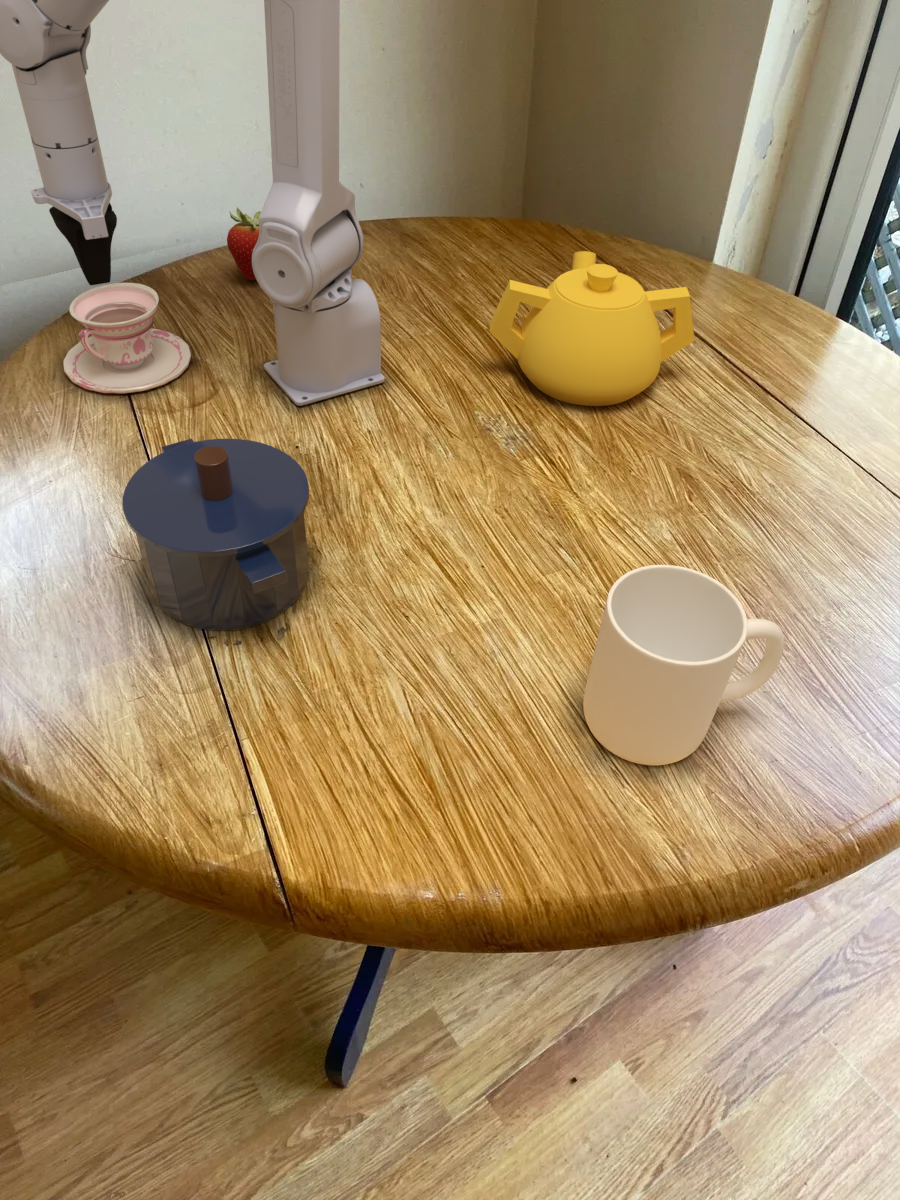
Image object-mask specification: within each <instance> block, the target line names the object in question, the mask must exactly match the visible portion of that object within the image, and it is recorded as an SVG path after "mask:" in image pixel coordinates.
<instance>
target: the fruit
mask: <svg viewBox="0 0 900 1200" xmlns="http://www.w3.org/2000/svg"><path fill="white" fill-rule="evenodd" d="M228 212H229V215H230V218H231V219H232V220H233V221H234V222H237V223H235V224H234V225H233V226H231V228H229V230H228V232H227V236H226V244H227V248H228V250H229V252H230V254H231V255H232V257H233V260H234V262H235V264H236V267H237V268H238V270H239V271H240V273H241V274H242V276H243V277H245V278H246V279H247V280H249V281H257V280H256V278H255V275H254V272H253V268H252V253H253V249H254V247H255V245H256V243H257V241H258V238H259V216H260V213H261V210H259V211H257V212H256V213H255V214H254V215H253V219H252V217H250V216H249V215H248V214H247V213H246V212H245V213H243V212H242V211H241V210H240V208H239V207H236V216H235V215H234V214H232V212H231V210H229V211H228Z"/></svg>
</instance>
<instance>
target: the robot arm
mask: <svg viewBox="0 0 900 1200" xmlns="http://www.w3.org/2000/svg"><path fill="white" fill-rule="evenodd" d="M109 1H110V0H0V55H1V56H2V57H3V59H5V60H6V61H7V62H9V63H10V64H11V67H12V71H13V75H14V78H15V79H14V80H15V82H16V87H17V90H18V94H19V98H20V101H21V105H22V109H23V113H24V116H25V117H24V118H25V121H26V124H27V128H28V132H29V137H30V139H31V144H32V147H33V151H34V155H35V159H36V163H37V166H38V171H39V175H40V177H41V181H42V182H41V183H42V186H43V187H40V188H34V189H32V190H31V196H32V199H33V201H34V203H35V204H37V205H45V204H47V205H50V206H51V207H50V208H49V210H48V212H49V213H50V217H51V218H52V220H53V223H54V225H55V226H56V228H57V230H58V231H59V232H60V234H62V235H63V237H64V238H65V239H66V241H67V242H68V244H69V246H70V247H71V249H72V250H73V253H74V255H75V258H76V260H77V262H78V265H79V267H80V269H81V271H82V274H83V276H84V278H85V279H86V282H87V283H88V285H89V286H96V285H104V284H110V282H111V278H112V242H113V237H114V233H115V230H116V227H117V224H118V217H117V214H116V213H115V211H114V210H113V205H112V204H111V199H112V197H113V190H112V186H111V184H110V183H109V181H108V178H107V173H106V168H105V163H104V158H103V154H102V149H101V145H100V140H99V136H98V135H99V134H98V131H97V126H96V120H95V117H94V112H93V108H92V107H93V106H92V101H91V98H90V93H89V92H90V91H89V88H88V84H87V79H86V76H87V70H89V65H88V61H87V60H88V59H87V50H88V46H89V44H90V42H91V36H92V35H91V33H92V28H91V25H92V22H93V21H94V20H95V18H97V16H98V15H99V14H100V13H101V11H102V10H103V9H104V8H105V6H106V5H107V4H108V3H109ZM340 1H341V0H263V4H264V5H263V6H264V8H263V9H264V27H265V47H266V48H265V49H266V50H265V51H266V66H267V67H266V69H267V86H268V87H267V88H268V90H267V91H268V108H269V109H268V110H269V129H270V149H271V150H270V151H271V152H270V153H271V168H272V173H271V174H272V185H271V187H270V189H269V192H268V193H267V197H266V199H265V201H264V203H263V205H262V209H261V210H260V212H261V213H260V216H259V220H258V221H259V238H258V241H257V243H256V245H255V247H254V249H253V253H252V268H253V272H254V275H255V278H256V280H255V281H256V282H257V284H258V286H259V287H260V289H261V290H262V291H263V292H264V293H265V294H266V296H267V297H268V298H269V299H268V300H269V302H270V303H272V310H273V321H274V332H275V341H276V353H277V359H275V360H271V361H268V362H265V363H264V364H263V370H264V371H265V372H266V373H267V374H268V375H269V376H270V377H271V378H272V380H273V381H274V382H275V383H276V384H277V385H278V386H279V387H280V389H281V390H282V391H283V392H284V394H286V396H288V398H289V399H290V400H291V401H292V402H293V404H294V405H296V406H298V407H303V406H306V405H309V404H313V403H316V402H320V401H323V400H327V399H331V398H334V397H338V396H341V395H344V394H348V393H351V392H355V391H358V390H361V389H362V390H363V389H365V388H370V387H372V386H376V385H380V384H383V383H384V382H385V381H386V376H384V375H383V373H382V323H381V322H382V319H381V312H380V308H379V304H378V300H377V297H376V295H375V293H374V291H373V289H372V288H371V285H369V283H367V281H365V280H364V279H362V278H353V268H352V267H354V266H355V265H357V263H358V262H359V260H360V259H361V258H362V255H363V252H364V248H365V247H364V244H365V241H364V233H363V230H362V226H361V225H360V222H359V220H358V216H357V213H356V205H355V204H356V195H355V193H354V192H353V191H352V190H351V189H350V188H349V187H347V186H346V185H345V184H344V183H342V182H341V181H340V30H341V29H340V28H341V27H340V26H341V25H340V19H341V18H340V15H341V14H340V9H341V8H340Z"/></svg>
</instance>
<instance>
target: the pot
mask: <svg viewBox="0 0 900 1200" xmlns="http://www.w3.org/2000/svg"><path fill="white" fill-rule="evenodd" d="M192 442H195V441H194V439H193V438H188V439H184V440H180V441H178V442H174V443H170V444H167V445H164V446H163V445H162V446H161V452H162V453H163V452H165V451H168V450H170V449H172V448H175V447H178V446H181V445H184V444H188V443H192ZM306 533H307V531H306V521H305V512H304V513H303V515H302V516H301V518H300V519H299V520H298V521H297V523H296V524H295V525H294V526H293V527H292V528H291V529H289V530H288V531H287V532H286V533H285V534H283V535H282V536H280V537H278V538H277V539H275V540H273V541H271V542H269V543H268V544H266V545H263V546H261V547H258V548H256V549H253V550H249V551H246V552H243V553H238V554H233V555H227V556H218V557H193V556H185V555H179V554H174V553H170V552H167V551H164V550H161V549H159V548H156V547H154V546H152V545H150V544H148V543H147V542H145V541H144V540H143V539H141V538H140V537H139V536H138V535H137V534H136V533H135V536H136V540H137V544H138V549H139V552H140V555H141V559H142V563H143V567H144V571H145V574H146V579H147V582H148V586H149V588H150V590H151V593H152V595H153V598H154V601H155V602H156V603H157V605H158V606H159V608H160V609H161V610H162V611H163V612H164V613H165V614H166V615H168V616H169V617H170V618H172V619H174V620H175V621H177V622H179V623H181V624H183V625H186V626H188V627H192V628H196V629H200V630H206V631H219V632H220V631H222V632H223V631H236V630H243V629H247V628H253V627H255V626H259V625H262V624H264V623H266V622H268V621H271V620H272V619H273V620H274V618H276V617H278V616H280V615H281V614H283V613H284V612H286V611H287V610H289V609H290V607H292V606H293V605H294V604H295V603H296V602H297V600H298V599H299V598H300V597H301V595H302V594H303V592H304V590H305V588H306V585H308V584H307V583H308V580H309V576H310V567H309V557H308V545H307V534H306Z"/></svg>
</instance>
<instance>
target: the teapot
mask: <svg viewBox="0 0 900 1200" xmlns="http://www.w3.org/2000/svg"><path fill="white" fill-rule="evenodd" d="M520 303H523V304H525V305H529V306H531V308H530V309H529V311H528V312H527V315H526V316H525V319H524V321H523V322H522V325H521V327H520V326H519V325H518V324H516V322H514V320H515V317H516V314H517V311H518V309H519V306H520ZM671 309H672V325H671V326H669V327H667V328H665V329H664V330H662V331H661V330H660V327H659V322H658V320H657V316H656V312H659V311H660V312H661V311H665V310H671ZM693 322H694V321H693V311H692V304H691V295H690V293H689V290H688V286H681V287H672V288H663V289H654V290H647V291H645V290H644V287H643V286H642V285H641V284H640V283H639V282H638V281H637V280H636V279H634V278H633V277H631V276H629V275H627V274H624V273H622V272H619V271H618V269H617V268H616V267H614V266H612V265H609V264H606V263H597V253H595V252H592V251H586V250H583V251H576V252H573V257H572V267H571V270H568V271H565V272H564V273H562V274H560V275H559V276H558V277H556V278H555V279H554V280H553V281H552V282H551V283H550V284H549V285H548V287H546V288H545V287H540V286H537V285H534V284H533V285H532V284H528V283H525V282H520V281H517V280H513V279H509V280H508V282H507V285H506V287H505V289H504V291H503V293H502V296H501V298H500V300H499V302H498V304H497V306H496V309H495V311H494V313H493V315H492V317H491V319H490V322H489V333H490V334H491V335H492V336H493V337H494V338H495V339H496V340H497V341H498V342H499V343H500V344H501V345H502V346H503V347H504V348H505V349H506V350H507V351H508V352H510V354H512V356H513V357H514V358H515V359H516V360H517V364H518V365H519V367H520V369H521V371H522V372H523V374H524V375H525V377H527V379H528V380H529V382H531V383H532V384H533V386H534V387H535V388H536V389H538V390H539V391H540V392H541V393H543V394H545V395H546V396H549V397H551V398H552V399H555V400H558V401H560V402H563V403H567V404H571V405H576V406H584V407H605V406H613V405H618V404H621V403H624V402H627V401H628V400H631V399H632V398H634V397H636V396H638V395H639V394H641V393H642V392H643V391H645V390H646V389H647V388H649V387H650V386H651V385H652V384H653V383H654V381H655V380H656V379H657V377H658V375H659V373H660V369H661V364H662V362H664V361H665V360H667V359H669V358H670V357H672V356H673V355H675V354H676V353H678V352H679V351H681V350H683V349H684V348H686V347H687V346H688V345H690V344H692V343H693V342H695V341H696V340H695V332H694V331H695V330H694V323H693Z"/></svg>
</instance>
